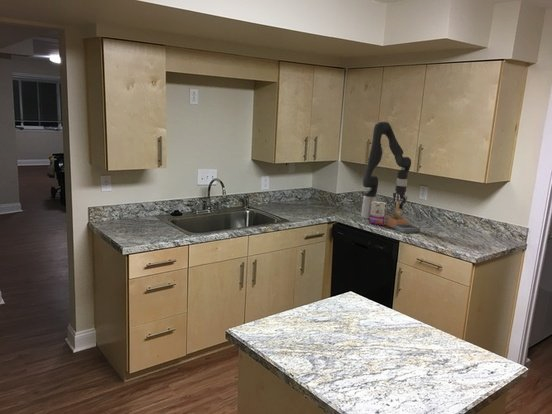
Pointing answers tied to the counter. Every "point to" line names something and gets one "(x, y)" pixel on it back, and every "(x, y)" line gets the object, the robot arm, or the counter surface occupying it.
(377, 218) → the candy bar box
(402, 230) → the slate tray
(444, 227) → the counter surface
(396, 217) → the wooden dowel
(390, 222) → the terracotta square open box
